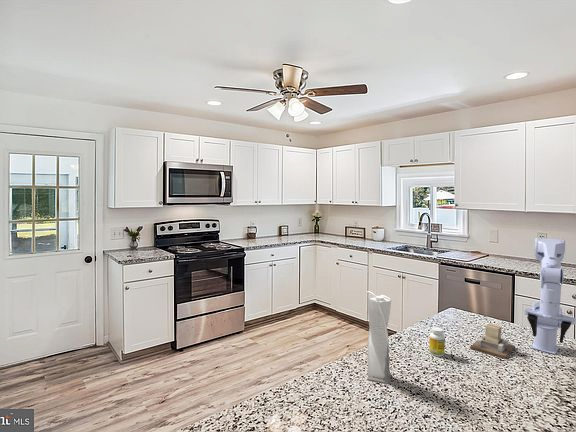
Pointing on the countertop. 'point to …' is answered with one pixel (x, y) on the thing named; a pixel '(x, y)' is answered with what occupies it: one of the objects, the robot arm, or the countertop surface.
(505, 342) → the socket board
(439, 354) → the supplement bottle
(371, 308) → the skyscraper
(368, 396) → the countertop surface
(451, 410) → the countertop surface
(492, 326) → the birch peg
